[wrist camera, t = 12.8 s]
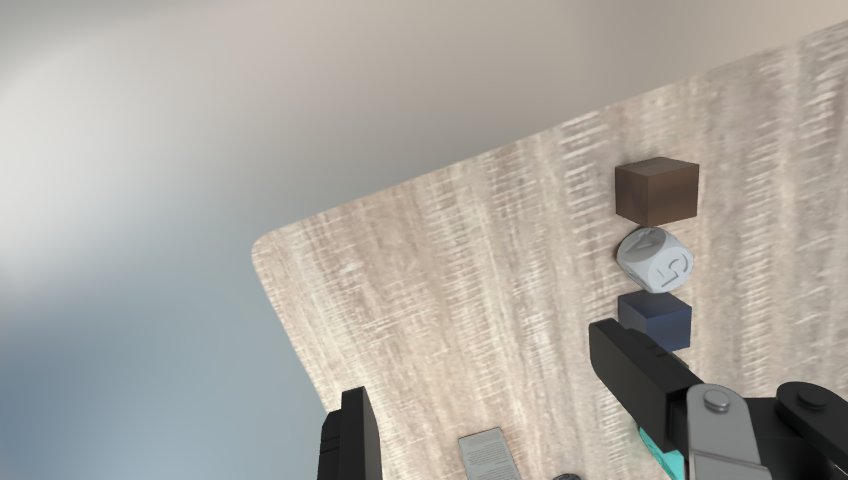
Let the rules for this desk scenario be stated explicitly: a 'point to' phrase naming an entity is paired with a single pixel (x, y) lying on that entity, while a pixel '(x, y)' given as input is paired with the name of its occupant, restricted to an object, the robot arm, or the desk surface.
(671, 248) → the die
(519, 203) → the desk surface
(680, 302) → the row of mixed cubes
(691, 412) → the robot arm
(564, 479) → the black chess piece
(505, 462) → the small box
